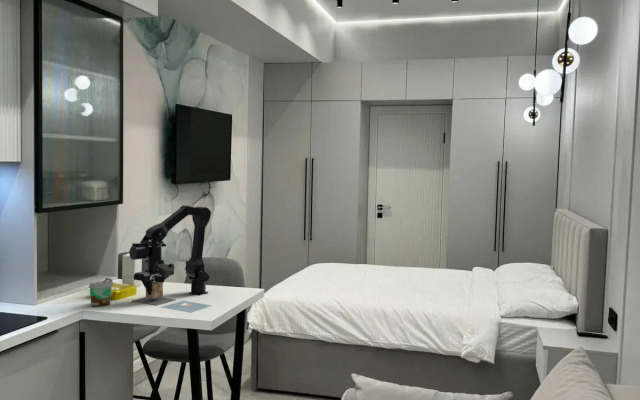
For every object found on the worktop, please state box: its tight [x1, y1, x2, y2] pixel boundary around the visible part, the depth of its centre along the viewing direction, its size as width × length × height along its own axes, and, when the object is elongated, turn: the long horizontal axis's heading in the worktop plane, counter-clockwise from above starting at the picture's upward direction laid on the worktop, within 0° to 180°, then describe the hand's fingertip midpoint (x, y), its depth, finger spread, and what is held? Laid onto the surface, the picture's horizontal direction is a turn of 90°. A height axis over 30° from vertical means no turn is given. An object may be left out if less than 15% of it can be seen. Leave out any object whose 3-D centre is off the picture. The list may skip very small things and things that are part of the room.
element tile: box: [89, 282, 138, 301], centre depth 259 cm, size 15×15×5 cm
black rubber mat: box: [131, 296, 176, 307], centre depth 251 cm, size 12×14×1 cm
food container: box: [88, 277, 114, 308], centre depth 242 cm, size 12×6×10 cm, turn 168°
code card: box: [161, 300, 213, 313], centre depth 243 cm, size 14×16×1 cm
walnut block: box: [145, 280, 164, 299], centre depth 251 cm, size 5×5×6 cm
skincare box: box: [121, 252, 143, 288], centre depth 278 cm, size 8×7×16 cm
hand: (154, 293), depth 251 cm, fingers closed on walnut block, 5 cm apart
